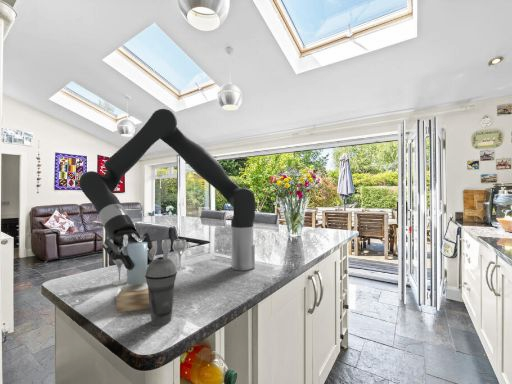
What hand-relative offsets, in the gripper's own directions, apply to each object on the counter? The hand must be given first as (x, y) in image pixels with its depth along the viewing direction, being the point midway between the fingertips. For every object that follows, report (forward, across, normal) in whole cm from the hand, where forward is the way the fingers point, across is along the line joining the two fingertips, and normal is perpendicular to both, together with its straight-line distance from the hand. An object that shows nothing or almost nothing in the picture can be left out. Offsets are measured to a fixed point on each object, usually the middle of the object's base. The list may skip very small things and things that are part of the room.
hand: (141, 265), depth 72 cm
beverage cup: (+17, -4, -2) cm, 18 cm away
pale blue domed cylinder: (+2, 0, +5) cm, 5 cm away
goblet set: (-5, +18, +21) cm, 28 cm away
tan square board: (+7, +2, +8) cm, 11 cm away
